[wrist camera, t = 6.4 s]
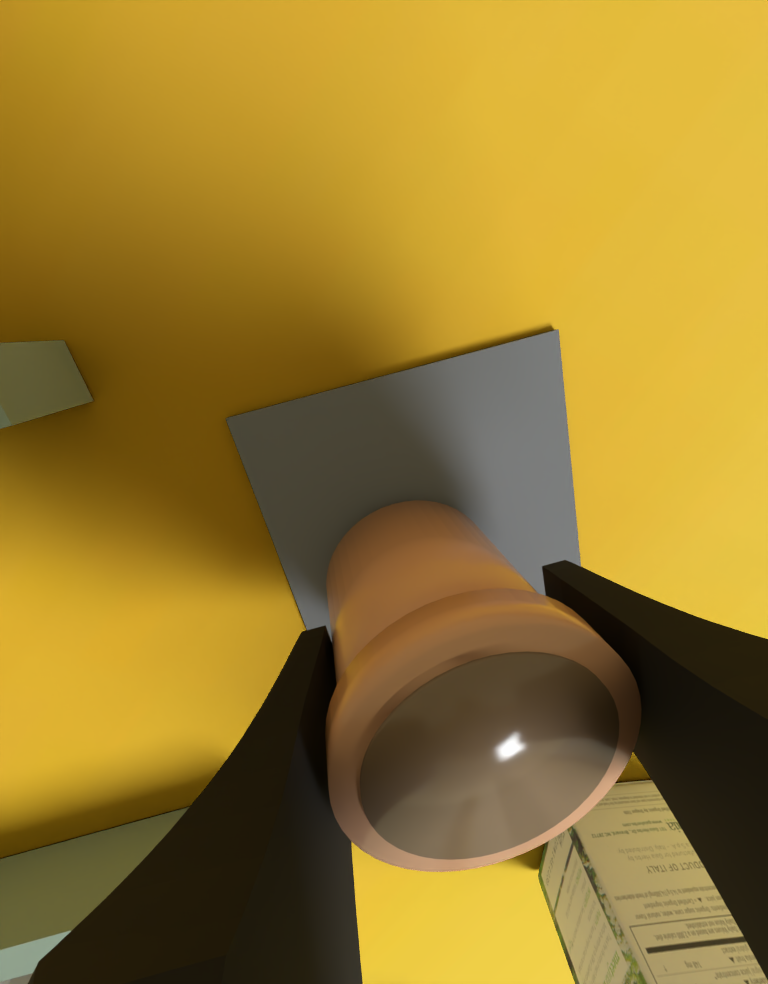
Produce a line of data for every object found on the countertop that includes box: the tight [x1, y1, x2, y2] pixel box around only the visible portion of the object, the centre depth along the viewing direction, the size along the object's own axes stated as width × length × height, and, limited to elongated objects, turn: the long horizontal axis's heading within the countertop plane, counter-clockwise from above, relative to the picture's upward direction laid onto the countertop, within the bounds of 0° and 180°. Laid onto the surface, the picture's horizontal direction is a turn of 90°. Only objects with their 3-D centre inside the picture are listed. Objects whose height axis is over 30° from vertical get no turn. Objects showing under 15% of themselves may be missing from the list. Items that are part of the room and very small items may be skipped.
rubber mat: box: [226, 330, 581, 642], centre depth 14 cm, size 12×9×1 cm
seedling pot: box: [325, 500, 642, 872], centre depth 10 cm, size 6×6×6 cm
